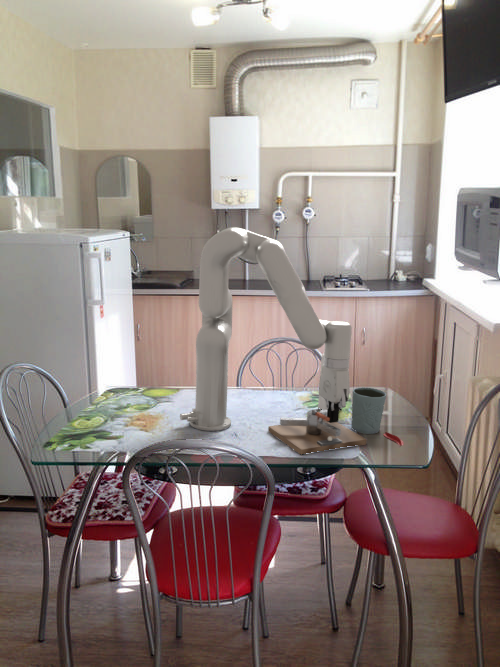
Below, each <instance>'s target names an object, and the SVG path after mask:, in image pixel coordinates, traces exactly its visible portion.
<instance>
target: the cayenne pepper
mask: <svg viewBox="0 0 500 667" xmlns="http://www.w3.org/2000/svg"><path fill="white" fill-rule="evenodd" d="M383 436H384V437H385V438H386V439H388V440H390V441H392V442H394V443H396V444H397V445H399V447H401V446H404V441H403V440H402V439H400V437H399V436H397V435H395V434H392V433H389V432H388V431H385V432H384V433H383Z"/></svg>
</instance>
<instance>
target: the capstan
mask: <svg viewBox="0 0 500 667" xmlns="http://www.w3.org/2000/svg"><path fill="white" fill-rule="evenodd" d="M323 420H325V421H330V418H329V417H327V410H324V409H322V410H321V409H320V410H319V409H312V410H311V411H308V412H307V413H306V417H280V419H279V425H281V426H306V432H307V433H309V434H313V435H318V434H321V433H322V430H323V431H325V432H327V433H329V434H331V435H333V436H335V437H336V436H340V433H341V429H339V428H336V427H334V426H332V425H330V424H328V423H325V422H323Z"/></svg>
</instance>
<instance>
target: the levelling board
mask: <svg viewBox="0 0 500 667" xmlns="http://www.w3.org/2000/svg"><path fill="white" fill-rule="evenodd" d="M323 422H325V423H328V424H330V425H332V426H334V427H336V428H339V429H341V433H340V436H336V437H335V436H333V435H331V434H329V433H327V432H325V431H323V430H322V433H321V434H318V435H313V434H309V433H307V432H306V426H281V425H280V424H275V425H270V426H268V428H267V431H268V432H269V433H270V434H271V435H272V436H274V437H276V438H277V439H278V440H279V439H280V441H281V442H282V443H284V445H286V444H287V445H286V446H288V447H289V448H291V449H292V450H293V449H294V450H293V451H294V452H296V453H297V452H298V453H297V454H299V455H300V454H301V455H300V456H303V455H302V454H305V455H307V454H306V453H311V452H317V451H323V452H325V451H324V450H329V449H335V448H340V447H347V446H354V447H356V446H355V445H358V446H357V447H359V446H360V447H361V446H366V445H367V441H368V440H367V438H365V437H364V436H362V435H360V434H358V432H356V431H354V430H352V429H349V428H348V427H347V426H344V425H343V424H341V423H339V422H334V423H330V422H328V421H325V420H323ZM329 436H331V437H332V439H335V438H338V439H340V440H342V443H340V444H334V445H327V446H320V445H319V444H317V441H322V440H328V439H327V438H328V437H329ZM335 450H336V449H335ZM329 451H330V450H329ZM317 453H318V452H317ZM311 454H312V453H311Z"/></svg>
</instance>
